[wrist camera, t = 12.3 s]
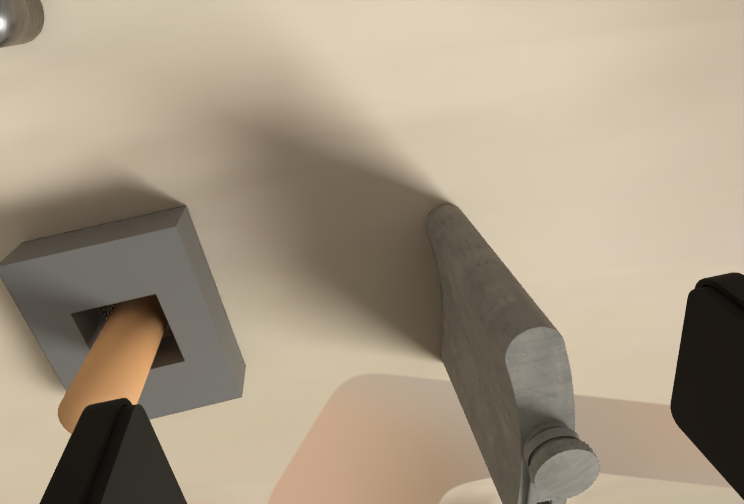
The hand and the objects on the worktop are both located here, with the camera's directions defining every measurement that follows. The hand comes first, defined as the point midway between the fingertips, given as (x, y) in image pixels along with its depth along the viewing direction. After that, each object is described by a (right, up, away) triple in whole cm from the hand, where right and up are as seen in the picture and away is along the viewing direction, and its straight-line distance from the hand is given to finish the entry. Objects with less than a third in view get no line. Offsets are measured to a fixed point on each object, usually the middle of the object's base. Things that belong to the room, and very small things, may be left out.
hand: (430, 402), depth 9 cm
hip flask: (+6, -1, +37) cm, 37 cm away
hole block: (-19, -2, +33) cm, 38 cm away
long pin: (-19, -2, +33) cm, 38 cm away
